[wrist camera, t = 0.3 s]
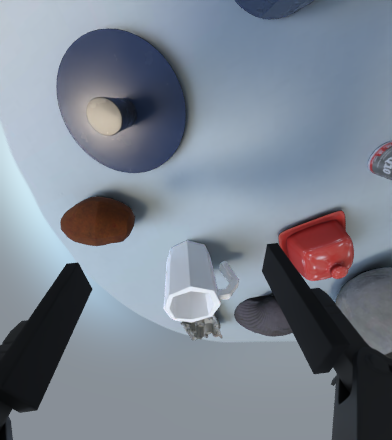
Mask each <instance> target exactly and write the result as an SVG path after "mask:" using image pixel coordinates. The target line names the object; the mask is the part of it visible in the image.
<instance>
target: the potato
mask: <svg viewBox="0 0 392 440" xmlns="http://www.w3.org/2000/svg"><path fill="white" fill-rule="evenodd" d="M134 221H135V216H134V214H133V212H132V210H131V208H130V207H128V206H127V205H125V204H124V203H122V202H119V201H117V200H114V199H111V198H106V197H98V196H97V197H90V198H88V199H85V200H83V201H81V202H79V203H78V204H76V205H75V206H73V207H72V208H71V209H69V210H68V211H67V212H66V213H65V214H64V215H63V217H62V218H61V222H60V223H61V230H62V231H63V232H64V233H65V234H66V236H67V237H68V238H70V239H71V240H73V241H75V242H78V243H82V244H86V245H92V246H100V245H106V244H110V243H117V242H122V241H124V240H125V239H126V238H127V237H128V236H129V235H130V233H131V231H132V229H133V227H134Z"/></svg>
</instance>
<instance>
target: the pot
mask: <svg viewBox="0 0 392 440" xmlns="http://www.w3.org/2000/svg"><path fill="white" fill-rule="evenodd" d="M235 1H236V2H237V4H238V5H239V6H240V7H241V8H243V9H244V10H245V11H247V12H248V13H250V14H252V15H254V16H256V17H259V18H263V19H278V18H282V17H287V16H288V15H290V14H293V13H295V12H296V11H298V10H299V9H301V8H303V7H304V6H306V5H308V4H310V3H311V2H312V1H314V0H235Z"/></svg>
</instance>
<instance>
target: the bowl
mask: <svg viewBox="0 0 392 440" xmlns="http://www.w3.org/2000/svg"><path fill="white" fill-rule="evenodd" d="M335 304H336V306H338V308H339V309H340V310H341V311H342V313H343V314H344V315H345V316H346V318H347V319H348V320H349V322H350V323H351V324H352V325H353V327H354V328H355V329H356V330H357V332H358V333H359V334H360V335H361V337H362V338H363V339H364V341H365V342H366V343H367V344H368V345H369V346H370V347H371V348H373V349H376V350H378V351H379V352H381V353H382V354H384V355H385V356H386V357H387V358H390V359H392V267H387V268H379V269H374V270H370V271H367V272H364V273H362V274H360V275H358V276H356V277H355V278H353V279H351V280H350V281H348V282H347V283H346V284H345V285H344V286H343V287H342V288H341V290H340V292H339V294H338V295H337V298H336V303H335Z"/></svg>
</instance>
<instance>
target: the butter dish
mask: <svg viewBox="0 0 392 440" xmlns="http://www.w3.org/2000/svg"><path fill="white" fill-rule="evenodd" d="M278 239H279V245H280V247H281V248H282V250H283V251H284V253H285V254H286V255H287V257H288V258H289V260H290V261H291V262H292V264H293V265H294V266H295V268H296V269H297V271H298V272H299V273H300V274H301V275H302V276H304V277H305V278H306V279H308V280H310V281H317V280H323V279H327V278H331V277H333V278H335V279H340V278H343V277H345V276H346V275H347V273H348V269H349V268H350V267H351V265H352V263H353V258H354V249H353V243H352V240H351V238H350V236H349V235H348V234H347V232H346V223H345V214H344V212H343V211H336V212H333V213H330V214H328V215H325V216H322V217H319V218H317V219H314V220H311V221H309V222H306V223H303V224H301V225H298V226H295V227H293V228H290V229H288V230H285V231H283V232H282V233H280V234H279V238H278Z"/></svg>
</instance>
